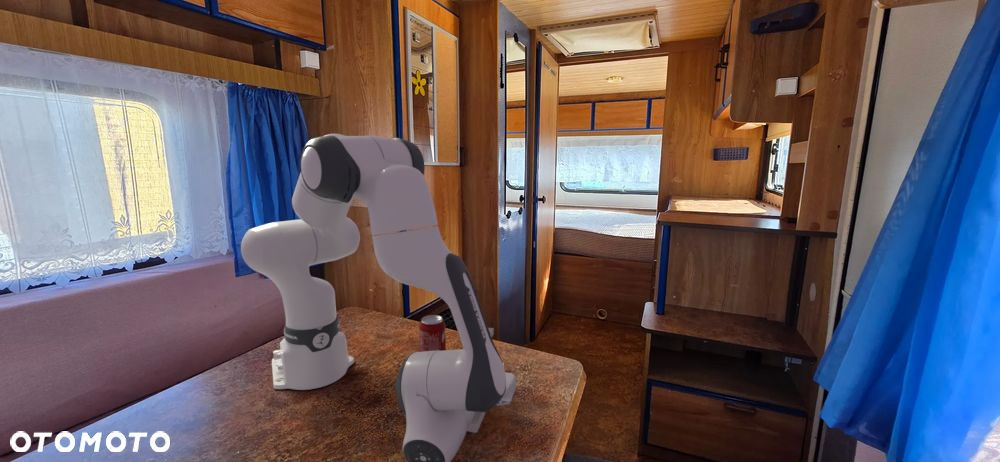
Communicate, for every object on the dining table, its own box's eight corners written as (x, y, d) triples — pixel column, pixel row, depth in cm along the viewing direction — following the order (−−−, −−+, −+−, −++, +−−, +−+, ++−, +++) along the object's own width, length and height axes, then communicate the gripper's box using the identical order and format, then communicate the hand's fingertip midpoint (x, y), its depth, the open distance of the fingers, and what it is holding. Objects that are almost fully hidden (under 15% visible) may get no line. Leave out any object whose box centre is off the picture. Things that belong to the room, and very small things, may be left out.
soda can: (440, 369, 100) (439, 325, 98) (415, 366, 102) (414, 323, 99) (449, 356, 107) (448, 315, 104) (425, 354, 108) (424, 313, 106)
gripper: (509, 391, 73) (522, 356, 87) (408, 377, 78) (435, 345, 91) (509, 422, 75) (521, 382, 88) (409, 406, 79) (436, 370, 92)
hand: (477, 363), depth 90 cm, fingers closed
